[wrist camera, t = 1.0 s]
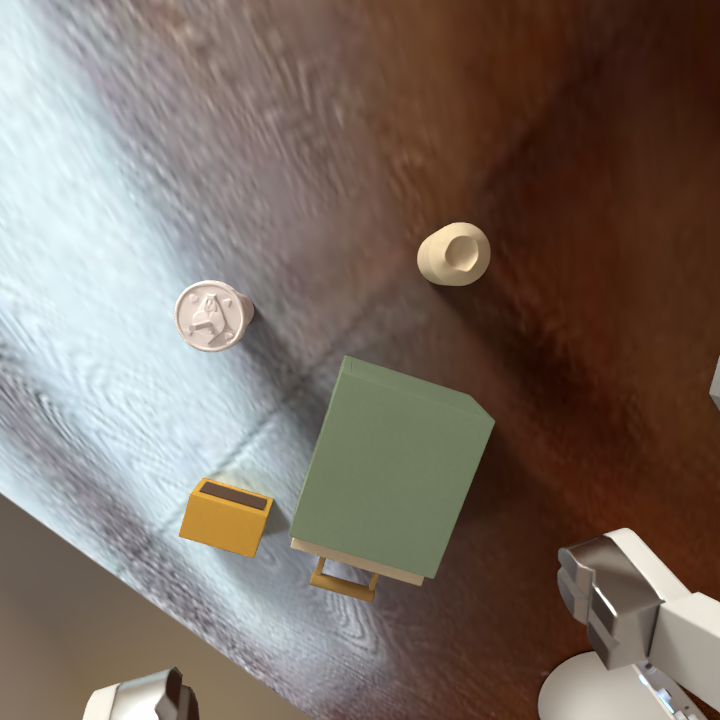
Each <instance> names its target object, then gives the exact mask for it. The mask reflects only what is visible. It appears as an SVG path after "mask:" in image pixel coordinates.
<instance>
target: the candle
mask: <svg viewBox="0 0 720 720" xmlns="http://www.w3.org/2000/svg"><path fill="white" fill-rule="evenodd" d="M417 261H418V267H419V270H420V272H421V273H422V275H423V276H424V277H425V278H426V279H427V280H429V281H430V282H432V283H435V284H439V285H452V286H463V285H467V284H470V283H472V282H474V281H476V280H477V279H479V278H480V277H481V276H482V275H483V273H484V272H485V270H486V269H487V267H488V264H489V261H490V245H489V242H488V240H487V238H486V236H485V235H484V233H483V232H482V231H481V230H480V229H479V228H477V227H475V226H474V225H471V224H468V223H453V224H450V225H447V226H446V227H444V228H442V229H440V230H439V231H437V232H435V233H434V234H432V235H431V236H429V237H428V238H427V239H426V240H425V241H424V242H423V243H422V245H421V246H420V249H419V251H418V256H417Z"/></svg>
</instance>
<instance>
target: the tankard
mask: <svg viewBox="0 0 720 720" xmlns="http://www.w3.org/2000/svg"><path fill="white" fill-rule="evenodd" d="M709 394H710V396H711V398H712V399H713V401H714V402H715V404H716V405H717V407H718V409H719V410H720V356H719V360H718V364H717V367H716V371H715V374H714V378H713V381H712V385H711V388H710V392H709Z"/></svg>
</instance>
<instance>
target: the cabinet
mask: <svg viewBox="0 0 720 720" xmlns="http://www.w3.org/2000/svg"><path fill="white" fill-rule="evenodd" d="M494 423H495V420H494V419H493V418H491V416H490V415H489V414H488V413H487V412H486V411H485V410H484V409H483V408H482V407H481V406H480V405H479V404H478V403H477V402H476V401H475V400H474V399H473V398H472V397H471V396H470V395H467V394H464V393H461V392H458V391H455V390H452V389H449V388H446V387H443V386H440V385H436V384H433V383H430V382H427V381H424V380H421V379H418V378H415V377H412V376H409V375H406V374H402V373H399V372H396V371H393V370H390V369H387V368H384V367H381V366H378V365H375V364H372V363H368V362H365V361H362V360H359V359H356V358H353V357H350V356H347V355H345V356H344V359H343V362H342V365H341V368H340V371H339V374H338V377H337V380H336V383H335V386H334V389H333V392H332V395H331V398H330V401H329V405H328V408H327V411H326V414H325V417H324V420H323V423H322V426H321V429H320V432H319V435H318V438H317V441H316V444H315V447H314V450H313V453H312V456H311V460H310V463H309V466H308V469H307V472H306V475H305V478H304V481H303V484H302V487H301V490H300V494H299V497H298V501H297V505H296V508H295V512H294V516H293V519H292V523H291V527H290V530H289V534H288V536H290V537H294V538H297V539H301V540H304V541H307V542H311V543H314V544H317V545H321V546H324V547H327V548H331V549H334V550H337V551H341V552H344V553H348V554H351V555H354V556H358V557H361V558H364V559H368V560H371V561H374V562H378V563H381V564H384V565H388V566H391V567H394V568H398V569H401V570H405V571H408V572H411V573H415V574H418V575H421V576H425V577H428V578H431V579H434V577H435V575H436V572H437V569H438V567H439V564H440V562H441V559H442V557H443V554H444V552H445V549H446V546H447V544H448V541H449V539H450V536H451V534H452V531H453V528H454V526H455V523H456V521H457V518H458V516H459V513H460V511H461V508H462V505H463V503H464V500H465V498H466V495H467V493H468V490H469V488H470V485H471V482H472V480H473V477H474V475H475V472H476V470H477V467H478V464H479V462H480V459H481V457H482V454H483V452H484V449H485V447H486V444H487V441H488V439H489V436H490V434H491V431H492V429H493V426H494Z"/></svg>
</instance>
